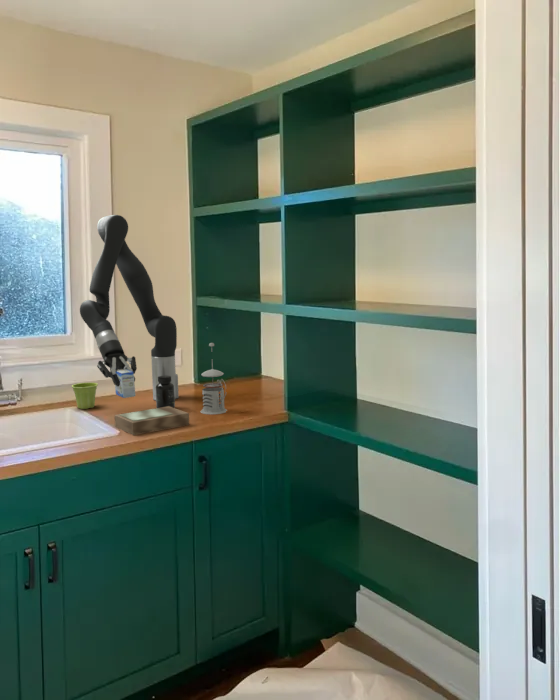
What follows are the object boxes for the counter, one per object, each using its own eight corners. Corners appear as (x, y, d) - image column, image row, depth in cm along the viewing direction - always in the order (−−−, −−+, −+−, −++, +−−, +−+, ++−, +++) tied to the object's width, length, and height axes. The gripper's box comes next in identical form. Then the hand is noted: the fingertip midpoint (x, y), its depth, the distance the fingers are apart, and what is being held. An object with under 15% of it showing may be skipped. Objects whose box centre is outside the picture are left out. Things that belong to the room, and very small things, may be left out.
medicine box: (115, 394, 228) (113, 370, 227) (127, 392, 231) (125, 368, 229) (123, 398, 222) (121, 373, 220) (136, 396, 224) (133, 371, 223)
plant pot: (95, 409, 244) (94, 386, 242) (69, 410, 243) (68, 387, 242) (101, 404, 253) (100, 382, 252) (77, 405, 253) (75, 382, 252)
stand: (169, 417, 229) (168, 405, 229) (189, 424, 218) (188, 412, 218) (115, 426, 217) (114, 414, 217) (133, 435, 206) (132, 421, 206)
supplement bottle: (173, 405, 248) (172, 374, 247) (176, 409, 242) (175, 377, 240) (155, 407, 246) (153, 375, 245) (157, 411, 240) (156, 378, 238)
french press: (216, 407, 245) (214, 340, 241) (236, 411, 236) (234, 342, 233) (194, 411, 238) (192, 343, 235) (214, 416, 230) (211, 345, 226)
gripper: (92, 341, 226) (108, 380, 218) (130, 336, 234) (148, 374, 227) (87, 354, 231) (103, 393, 223) (125, 350, 239) (142, 387, 232)
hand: (125, 383), depth 225 cm, fingers closed on medicine box, 4 cm apart
